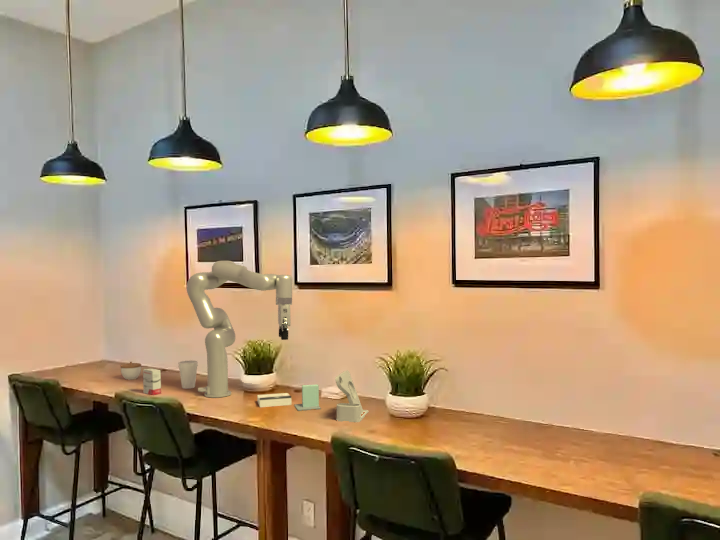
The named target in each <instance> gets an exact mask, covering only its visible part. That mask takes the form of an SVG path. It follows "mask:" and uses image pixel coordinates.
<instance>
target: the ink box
mask: <svg viewBox="0 0 720 540" xmlns="http://www.w3.org/2000/svg"><path fill="white" fill-rule="evenodd" d="M142 375H143V377H142V379H143V380H142V381H143V383H142V385H143V394H146V395H151V396H155V395H160V394H162V378H161V375H162V374H161V370H160V369H156V368H153V367H152V368H143V370H142Z"/></svg>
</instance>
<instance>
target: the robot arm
mask: <svg viewBox="0 0 720 540" xmlns="http://www.w3.org/2000/svg"><path fill="white" fill-rule="evenodd" d="M228 281H229V282H233V283H236V284H240V285H242V286H244V287H247V288H250V289H252V290H253V289H254V290H257V291H261V292H262V291H264V292H266V291H273V290H275V305H277V322H278V323H277V324H278V326H279V327H278V337H279V338H280V340H281V341H282V340H283V341H289V327H291V325H292V323H291V319H292V318H291V306H292V305H293V276H292V275H289V274H276V273H265V274H262V273H259V272H255V271H250V270H249V269H248V268H247V266H244V265H241V264H236V263H235V262H234V261H231V260H217V261H216V262H215V263H213V265H212V266H211V271H208V272H205V271H204V272H198V273H194V274H192V275H191V276H190V277H189V278H188V281H187V283H186V293H187V296H188V298H189V300H190V302H191V303H192V304H191V305H192V307H193V310H194V312H195V314H196V317H197V319H198V321H199V324H200V326H202V328H204V329H213V330H211V331H209V332H208V333H207V334H206V336H205V338H204V345H205V349H206V361H207V367H206V368H207V370H206V371H207V373H206V374H207V384H206V386H204V387H197V392H199V393H204V396H205V397H206V398H213V399H216V398H225V397H228V396H229V397H230V396H231V395H232V391H231V390H229V378H228V377H229V376H228V371H229V368H228V365H229V364H228V362H229V361H228V354H227V350H226V348H227V347H230V346H232V345H233V344H234V343H235V341H236V333H235V330H234V327H233V325H232V322H231V320H230V318H229V316H228V314H227V312H226V311H225V310H224V309H222V307H221V308H220V307H214V305H213V304H212V302H211V298H210V297H209V296H208V295H207V293H206V292H205V290H206V291H207V290H214V289H217V288H218V287H220V286H222V285H223V284H225V283H227V282H228Z"/></svg>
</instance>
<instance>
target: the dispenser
mask: <svg viewBox="0 0 720 540" xmlns="http://www.w3.org/2000/svg"><path fill="white" fill-rule="evenodd" d="M257 404H258V406H259V408H266V407H267V408H268V407H278V406H279V407H281V406H283V407H284V406H292V395H290V394H289V393H288V392H285V393H284V392H282V393H281V392H280V393H269V394H267V393H266V394H257Z"/></svg>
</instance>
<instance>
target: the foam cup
mask: <svg viewBox="0 0 720 540" xmlns="http://www.w3.org/2000/svg"><path fill="white" fill-rule="evenodd" d="M198 366H199V365H198V360H193V359H192V360H191V359H190V360H182V361H178V371H179V375H180V376H179V377H180V383H181V388H182V389H193V388H195V387H196V379H197V372H198V371H197V370H198Z"/></svg>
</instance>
